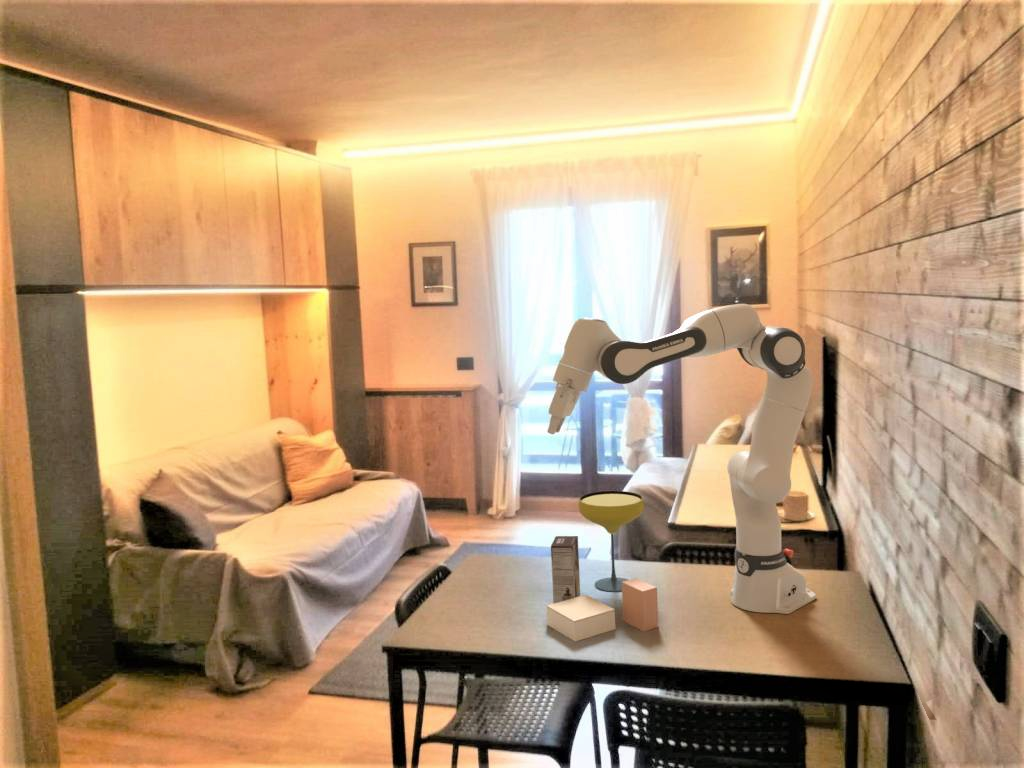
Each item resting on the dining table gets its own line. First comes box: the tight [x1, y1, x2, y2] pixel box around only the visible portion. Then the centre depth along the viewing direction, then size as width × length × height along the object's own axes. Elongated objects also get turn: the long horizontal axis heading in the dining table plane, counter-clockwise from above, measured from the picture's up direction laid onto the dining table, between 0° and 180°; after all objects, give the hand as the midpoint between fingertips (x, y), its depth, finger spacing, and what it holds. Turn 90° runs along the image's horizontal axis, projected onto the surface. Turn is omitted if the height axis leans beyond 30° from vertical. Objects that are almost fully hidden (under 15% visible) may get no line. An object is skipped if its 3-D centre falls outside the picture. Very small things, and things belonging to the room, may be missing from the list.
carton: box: [621, 577, 659, 632], centre depth 190 cm, size 4×8×10 cm, turn 30°
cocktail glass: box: [578, 490, 645, 593], centre depth 217 cm, size 18×18×25 cm
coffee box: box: [550, 535, 581, 604], centre depth 209 cm, size 9×6×16 cm
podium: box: [546, 594, 616, 642], centre depth 190 cm, size 12×12×5 cm
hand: (553, 432), depth 191 cm, fingers open, 8 cm apart
